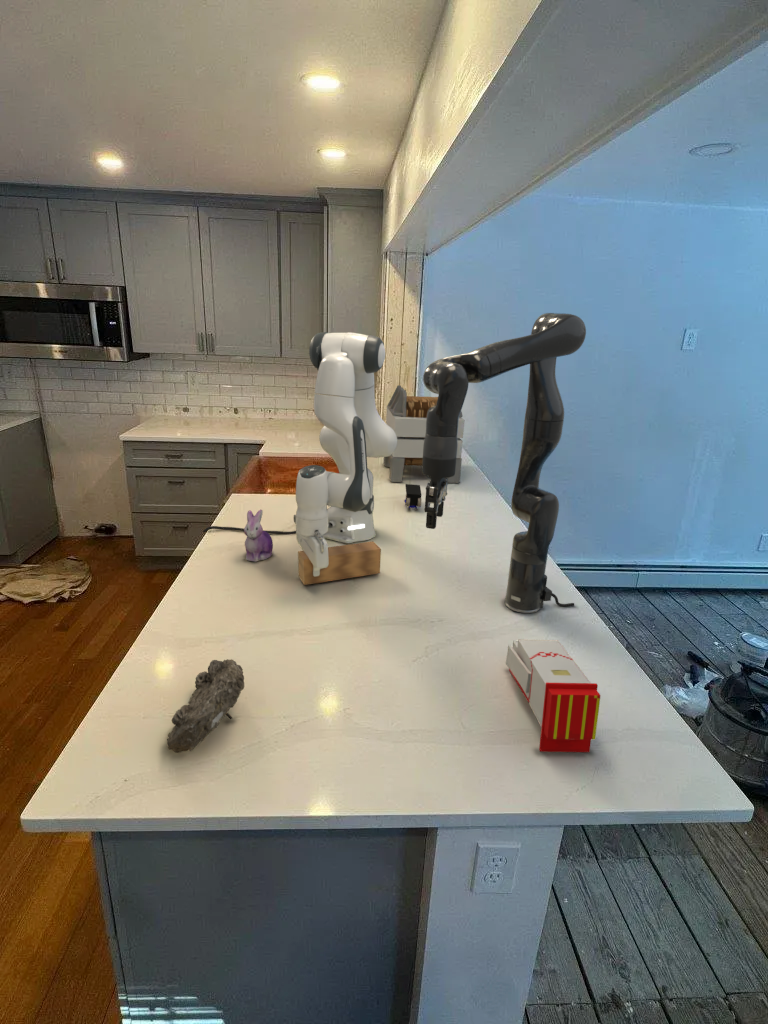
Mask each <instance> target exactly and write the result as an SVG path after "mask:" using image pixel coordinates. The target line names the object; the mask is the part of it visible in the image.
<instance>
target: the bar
mask: <svg viewBox="0 0 768 1024" xmlns="http://www.w3.org/2000/svg"><path fill="white" fill-rule="evenodd" d="M381 555H382V549H381V547H380V546H379V545H378V544H377V543H376V542H375V541H363V542H355V543H348V544H343V545H335V546H328V558H329V564H328V567H327V568H322V569H320V575H319V576H313V574H312V569H313V564H312V563H311V561H310V560H309V558H308V556H307V555H306V554H305V552H304V551H303V550H298V551H297V561H298V562H297V564H298V565H297V567H298V578H299V579H300V581H301V582H302V584H303V585H304V586H307V585H312V584H320V583H327V582H331V581H332V582H333V581H338V580H344V579H350V578H358V577H364V576H370V575H378V574H381V560H382V559H381Z"/></svg>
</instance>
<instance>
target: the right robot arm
mask: <svg viewBox="0 0 768 1024" xmlns="http://www.w3.org/2000/svg"><path fill="white" fill-rule="evenodd" d="M586 334H587V329H586V324H585V322H584V320H583V319H582V318H581V317H580V316H578V315H576V314H572V313H564V312H563V313H562V312H545V313H542V314H541V315H539V316H538V317H537V318H536V319H535V321H534V324H533V325H532V328H531V332H530V334H528V335H525V336H520V337H515V338H509V339H504V340H500V341H496V342H492V343H489V344H487V345H486V344H485V345H484V346H481V347H478V348H476V349H473V350H471V351H469V352H465V353H461V354H454V355H451V356H446V357H442V358H439V359H437V360H435V361H433V362H431V363H430V364H429V365H427V366H426V368H425V370H424V372H423V376H422V381H423V386H424V387H425V388H426V389H427V391H430V393H433V394H435V395H438V396H437V397H438V400H437V404H436V406H433V407H431V408H430V409H429V410H428V412H427V419H426V433H425V439H424V445H423V460H422V466H421V473H422V475H424V476H425V477H429V478H430V479H429V482H428V483H427V485H426V487H425V498H424V499H425V501H424V509H423V512H424V513H426V516H425V517H426V519H425V527H426V528H427V529H429V530H435V529H436V527H437V519H438V518H442V517H443V515H444V505H445V501H446V497H447V496H448V478H450V477H453V476H454V475H455V468H456V457H457V432H458V421H459V414H460V412H462V409H463V406H464V403H465V400H466V397H467V393H468V390H469V384H479V383H484V382H486V381H489V380H491V379H493V378H495V377H498V376H501V375H503V374H506V373H508V372H510V371H513V370H516V369H518V368H522V367H525V366H527V365H529V378H528V389H527V399H526V408H525V413H524V420H523V421H524V422H523V428H522V429H523V430H522V441H521V447H520V454H519V455H520V456H519V462H518V468H517V473H516V478H515V483H514V486H513V490H512V495H511V501H510V502H511V504H510V505H511V511H512V514H513V515H514V516H515V517H516V518H518V519H520V520H522V521H524V522H526V523H528V527H527V530H525V531H519V532H517V533H515V534H514V536H513V539H512V547H511V554H510V561H509V562H510V564H509V567H508V568H509V570H508V576H507V584H506V592H505V598H504V605H505V606H506V607H507V608H508V609H510V610H511V611H513V612H517V613H521V614H533V613H536V612H538V611H539V610H541V609H543V607H544V602H550V601H552V598H554V602H555V604H556V605H557V606H558V607H559V608H567V607H574V606H575V602H568V603H560V602H559V598H558V596H557V595H556V594H555V593H553V590H551V589H550V588H549V587H547V583H548V576H547V575H546V568H547V560H548V554H549V550H550V545H551V543H552V541H553V538H554V535H555V531H556V526H557V521H558V517H559V512H560V502H559V498H558V496H557V495H556V494H554V493H552V492H551V491H548V490H545V489H543V488H540V479H541V478H540V477H541V472H542V469H543V466H544V464H545V463H546V461H547V460H548V459H549V457H550V456H551V455H552V454H553V452H554V451H555V450H556V448H557V446H558V445H559V443H560V441H561V439H562V434H563V429H564V422H565V421H564V420H565V407H564V402H563V398H562V395H561V392H560V389H559V385H558V383H557V376H556V375H557V374H556V368H557V358H559V357H560V358H561V357H564V356H565V357H566V356H571V355H573V354H575V353H576V352H577V351H579V349H581V347H582V346H583V344H584V342H585V340H586V336H587V335H586ZM431 504H433V507H430V506H431Z"/></svg>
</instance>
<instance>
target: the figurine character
mask: <svg viewBox="0 0 768 1024" xmlns="http://www.w3.org/2000/svg"><path fill="white" fill-rule="evenodd" d="M403 502H404V503H405V505H404V506H405V507H406V508H408V509H407V510H408V511H411V509H415V511H416V512H417V511H418V508H421V507H422V489H421V484H411V483H405V499H404V500H403Z"/></svg>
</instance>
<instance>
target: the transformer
mask: <svg viewBox="0 0 768 1024" xmlns="http://www.w3.org/2000/svg"><path fill="white" fill-rule="evenodd" d="M407 394H408V393H407V390H406V389H404V388H403V387H402V385H399V384H398V385H397V386H396V388H395V390H394V392H393V394H392V395H391V398H390V400H389V402H388V404H387V405H386V413H385V414H386V415H385V423H386V424H387V425H388V426H390V427H391V428H392V429H393V430H394V432H395V434H396V437H397V446H396V449H395V451H394V452H393V453H392V454H391V455H390V456H388V457H383V466H384V467H388V468H389V475H388V476H389V477H388V478H389V480H390V482H391V483H402V482H403V475H404V469H405V466H406V467H407V466H411V467H412V466H413V467H415V466H416V467H417V466H418V467H422V460H423V445H424V439H425V433H426V419H427V412H428V410H429V409H430V408H431V407H433V406H436V404H437V400H438V396H415V395H414V396H413V395H412V396H411V395H407ZM464 429H465V419H464V418H463V411H461V412H460V414H459V421H458V432H457V457H456V468H455V475H454V476H453V477H450V478H448V482H447V484H448V483H449V484H455V483H456V484H459V483H461V472H462V461H463V460H462V453H463V442H464V441H463V440H462V439H463V438H464V431H465V430H464Z"/></svg>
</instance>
